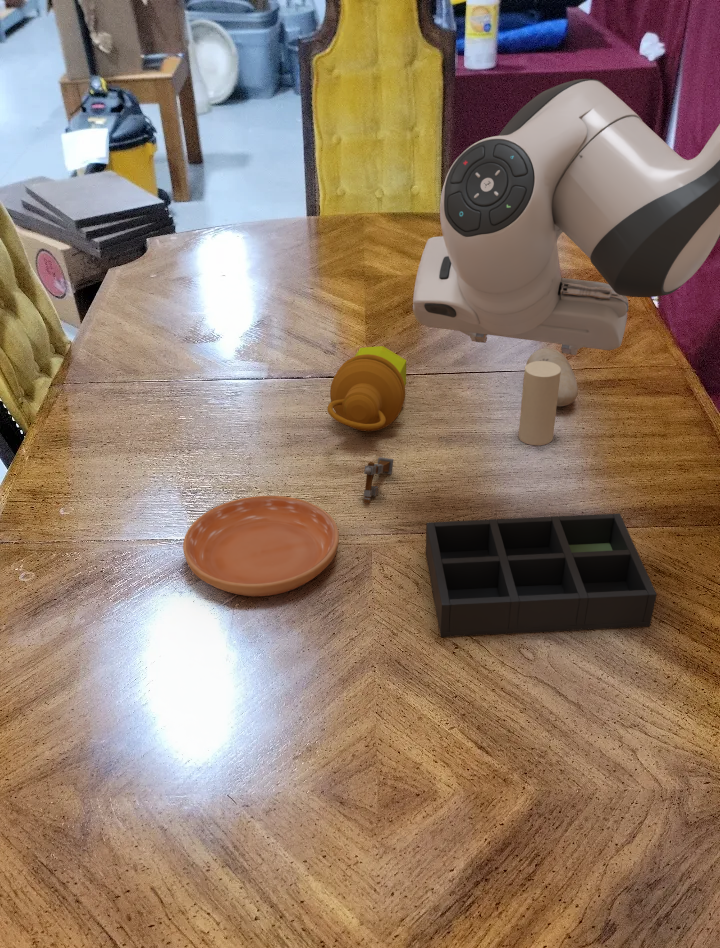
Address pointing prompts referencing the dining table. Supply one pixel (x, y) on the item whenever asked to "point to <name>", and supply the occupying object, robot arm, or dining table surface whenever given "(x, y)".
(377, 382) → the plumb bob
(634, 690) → the dining table surface
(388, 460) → the wooden post with brackets
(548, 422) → the cylinder
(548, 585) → the grid
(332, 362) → the dining table surface
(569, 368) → the stone
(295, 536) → the saucer
